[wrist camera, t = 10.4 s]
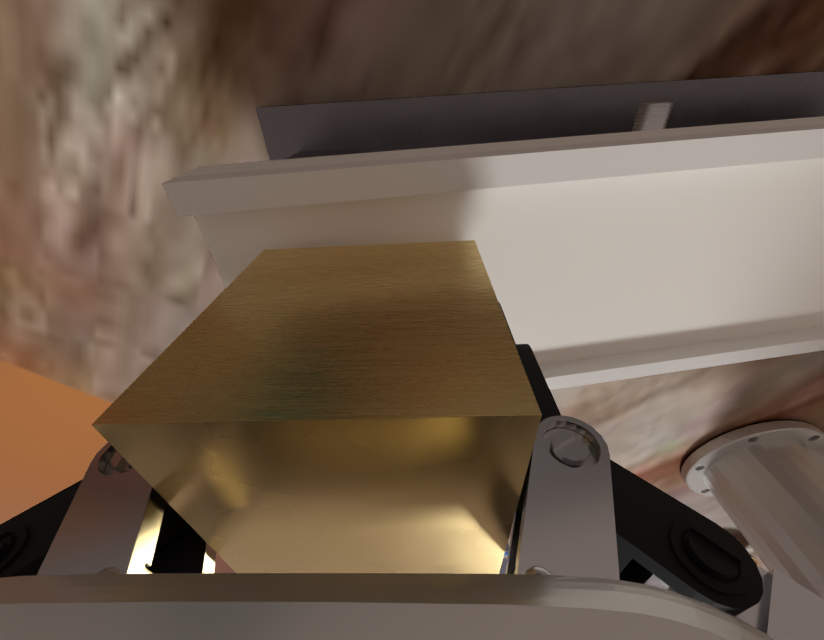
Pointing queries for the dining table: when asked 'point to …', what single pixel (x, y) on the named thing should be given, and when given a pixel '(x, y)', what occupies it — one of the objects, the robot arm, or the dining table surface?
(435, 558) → the block
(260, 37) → the dining table surface
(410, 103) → the seesaw stand
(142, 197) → the dining table surface
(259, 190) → the beam
